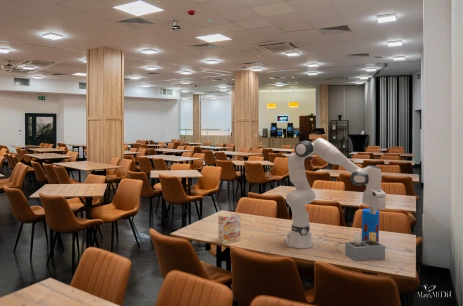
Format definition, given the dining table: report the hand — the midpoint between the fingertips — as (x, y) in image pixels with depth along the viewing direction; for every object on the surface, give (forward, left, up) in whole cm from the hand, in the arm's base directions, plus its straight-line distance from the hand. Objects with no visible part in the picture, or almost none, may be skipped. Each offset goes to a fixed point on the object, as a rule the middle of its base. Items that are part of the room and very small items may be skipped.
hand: (373, 213), depth 231 cm
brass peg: (0, 0, -20) cm, 20 cm away
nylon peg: (0, -10, -20) cm, 22 cm away
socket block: (0, -5, -27) cm, 28 cm away
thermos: (-17, +9, -27) cm, 33 cm away
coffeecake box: (-48, -82, -27) cm, 99 cm away
